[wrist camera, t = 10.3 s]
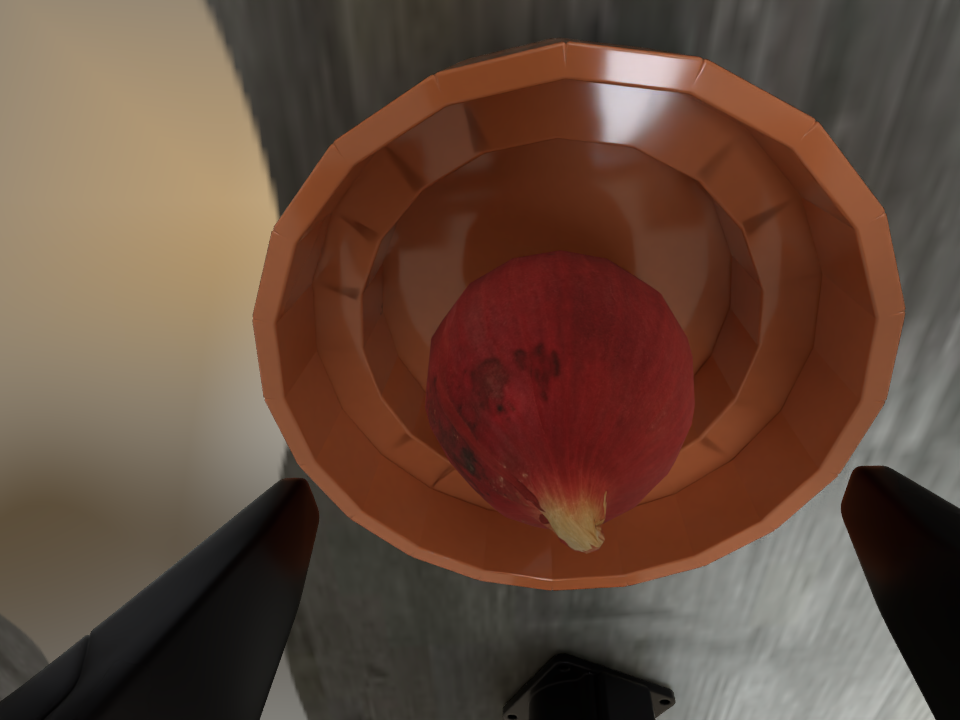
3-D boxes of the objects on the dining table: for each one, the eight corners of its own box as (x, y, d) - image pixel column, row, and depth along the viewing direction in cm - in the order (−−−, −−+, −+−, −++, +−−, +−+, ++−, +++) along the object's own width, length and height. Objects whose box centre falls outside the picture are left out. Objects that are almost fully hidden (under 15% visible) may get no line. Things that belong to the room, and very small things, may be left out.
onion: (441, 378, 17) (378, 618, 10) (459, 193, 14) (386, 358, 7) (625, 405, 17) (688, 664, 10) (684, 226, 13) (838, 425, 7)
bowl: (623, 510, 20) (648, 641, 16) (288, 379, 18) (212, 487, 14) (906, 190, 13) (1084, 266, 9) (420, -75, 11) (353, -137, 7)
